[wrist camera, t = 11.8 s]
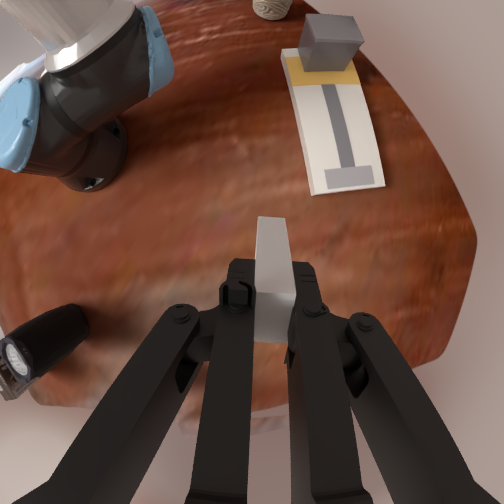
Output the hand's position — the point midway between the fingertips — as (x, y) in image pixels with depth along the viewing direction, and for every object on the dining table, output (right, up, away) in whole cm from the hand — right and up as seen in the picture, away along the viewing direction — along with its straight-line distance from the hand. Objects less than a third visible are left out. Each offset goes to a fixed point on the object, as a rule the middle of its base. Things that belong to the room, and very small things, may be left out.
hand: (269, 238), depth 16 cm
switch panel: (+12, +22, +25) cm, 35 cm away
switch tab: (+10, +31, +21) cm, 39 cm away
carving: (+3, +46, +22) cm, 51 cm away
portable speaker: (-36, -15, +30) cm, 49 cm away
